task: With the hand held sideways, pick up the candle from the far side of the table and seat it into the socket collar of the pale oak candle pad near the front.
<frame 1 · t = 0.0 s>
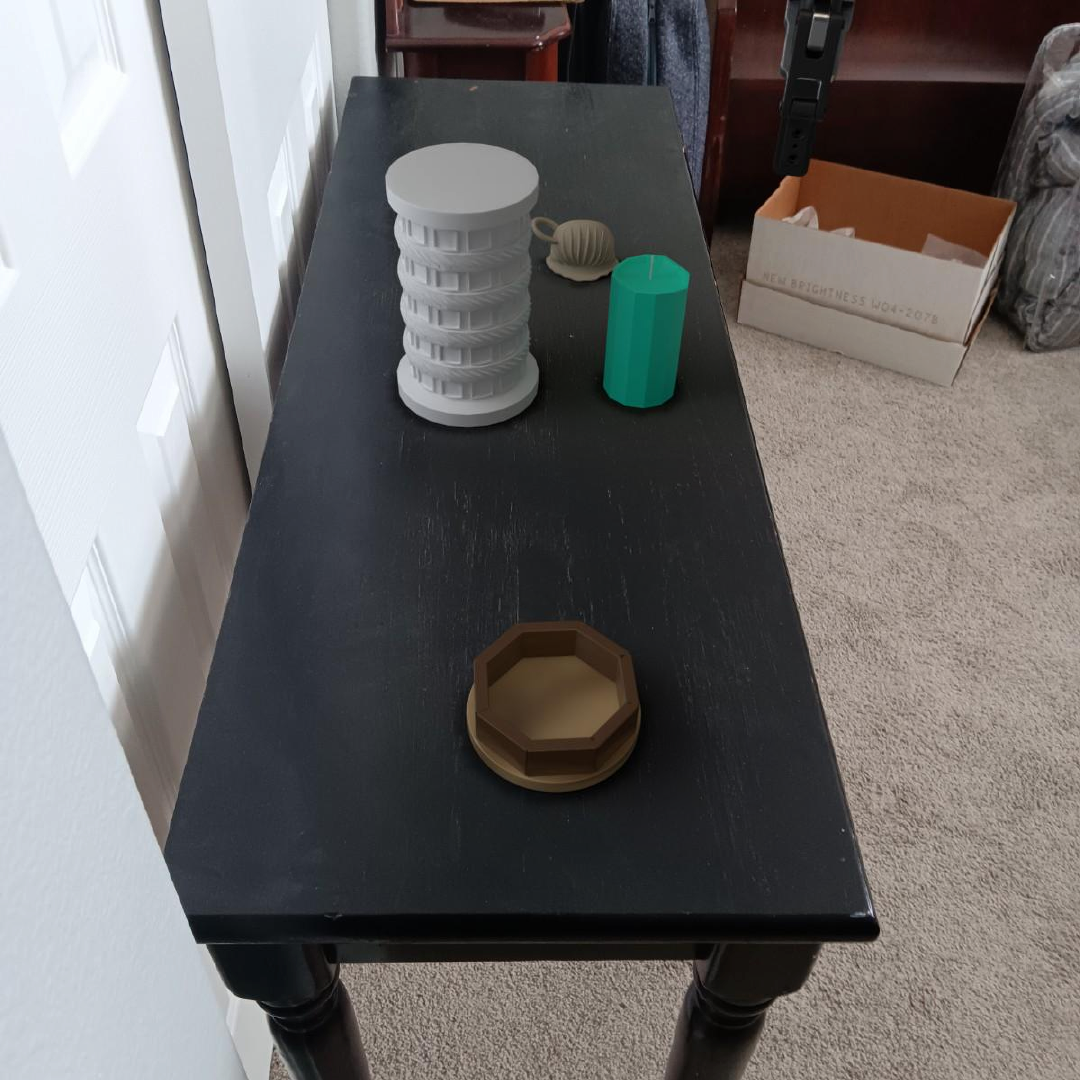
hand: (792, 145, 71), 22 cm above the table, tool pointing down, fingers open, 8 cm apart
decorative container: (468, 385, 89), on the table
candle: (638, 387, 89), on the table
candle pad: (553, 718, 65), on the table
decorative ornament: (575, 271, 102), on the table
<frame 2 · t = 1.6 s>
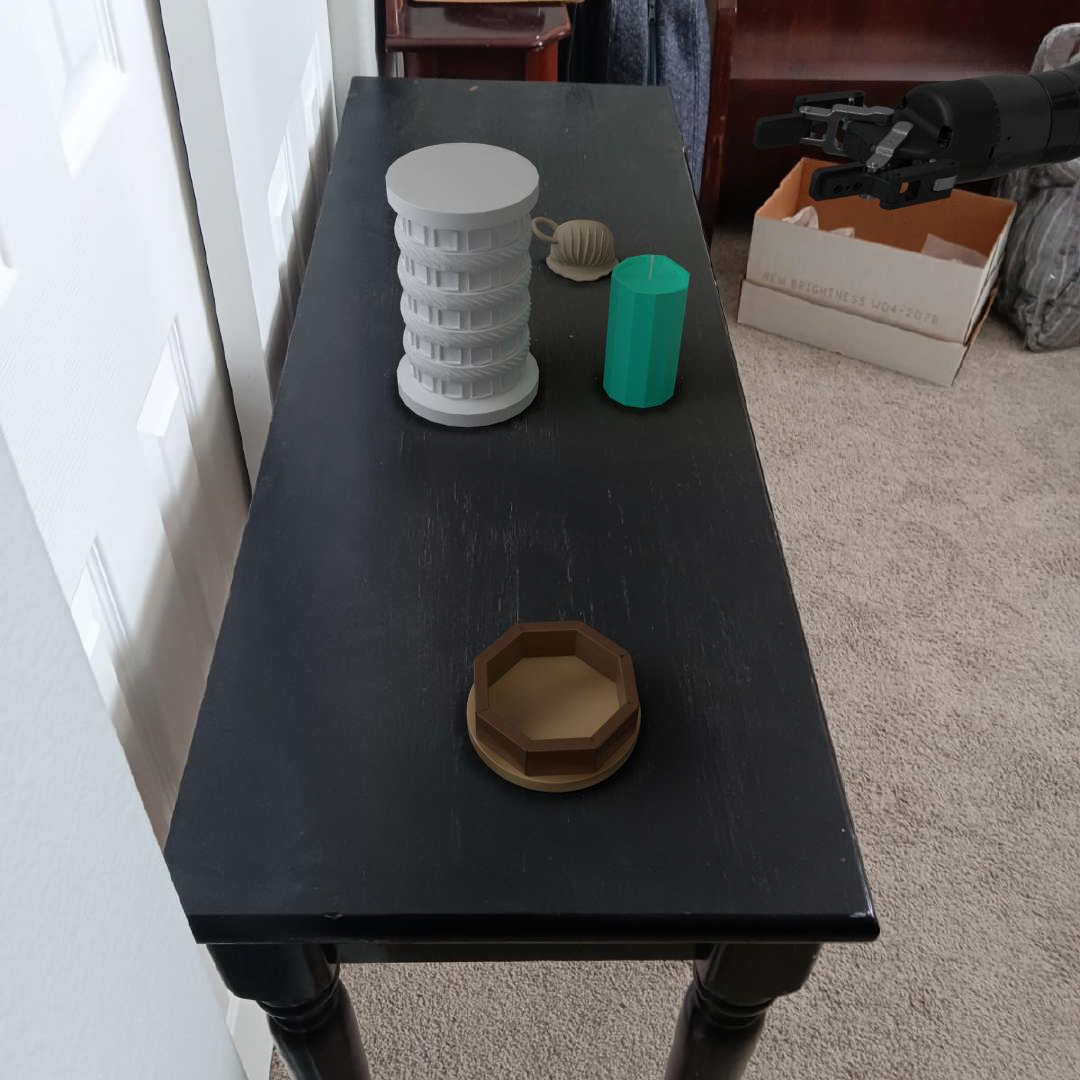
hand: (783, 159, 78), 18 cm above the table, tool horizontal, fingers open, 8 cm apart
nothing on the table moved.
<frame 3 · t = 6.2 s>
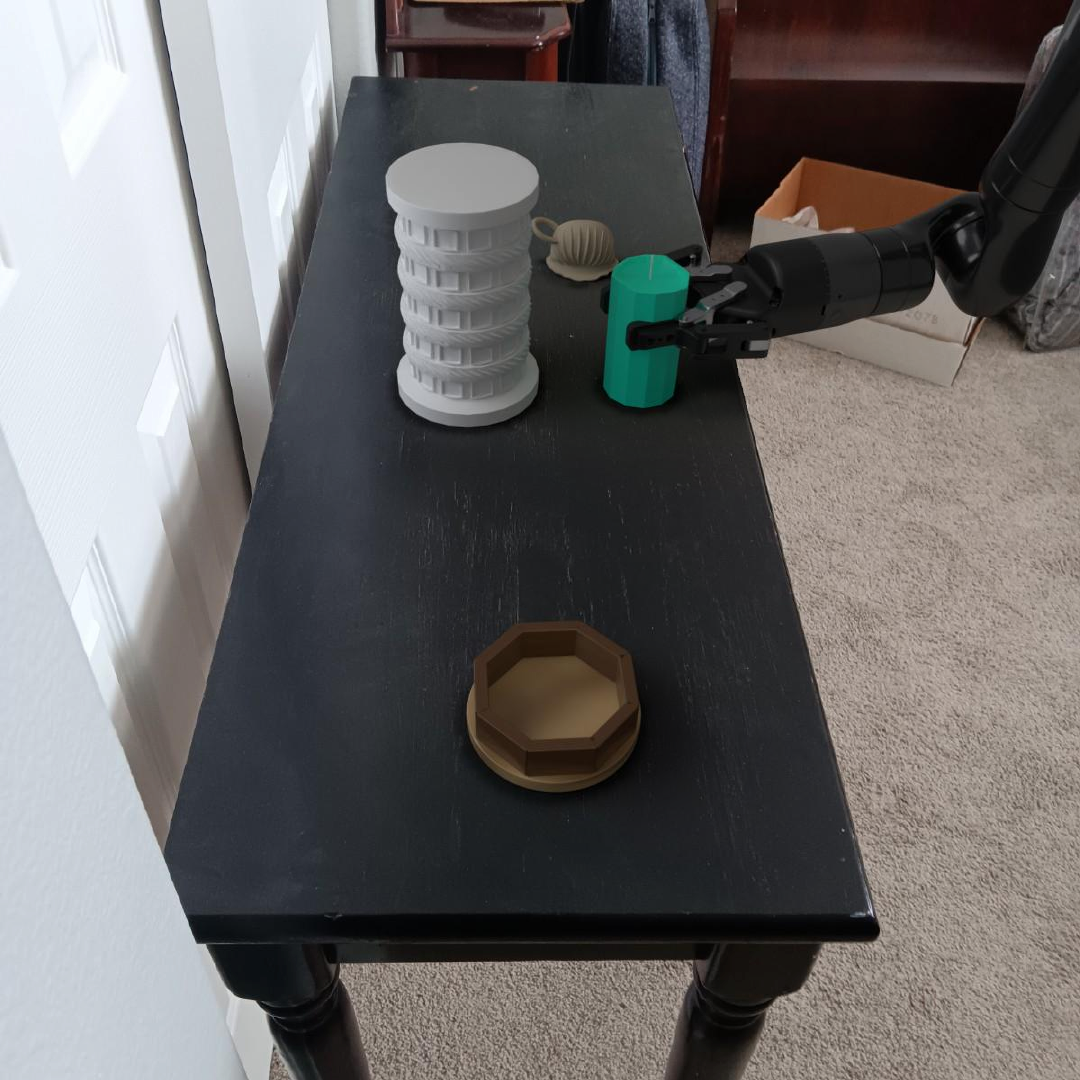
hand: (615, 318, 83), 7 cm above the table, tool horizontal, fingers closed on candle, 4 cm apart
candle: (638, 387, 89), on the table, touching gripper
everything else where it was.
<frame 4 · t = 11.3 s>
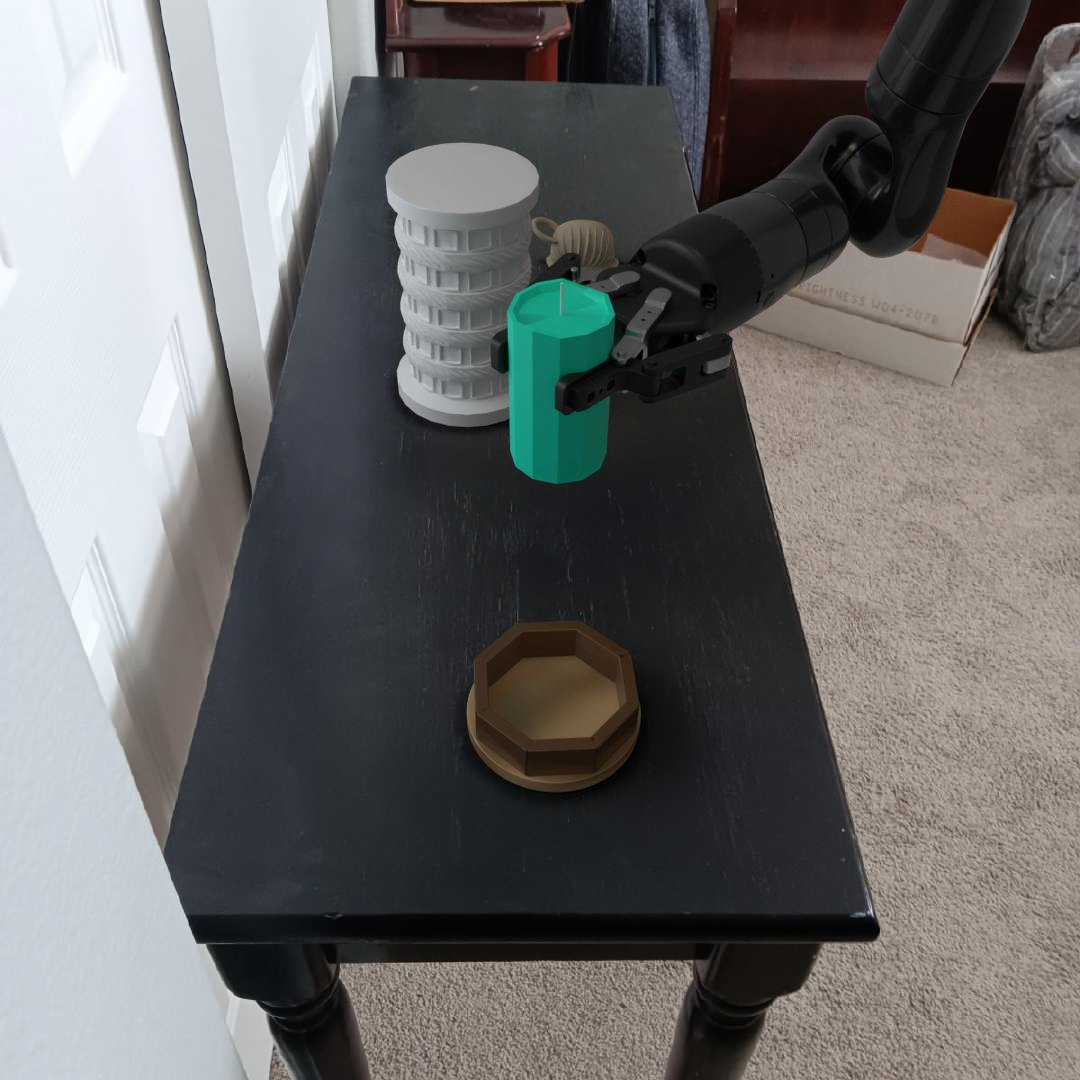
hand: (527, 378, 61), 17 cm above the table, tool horizontal, fingers closed on candle, 4 cm apart
candle: (558, 454, 67), point 10 cm above the table, touching gripper
everything else where it was.
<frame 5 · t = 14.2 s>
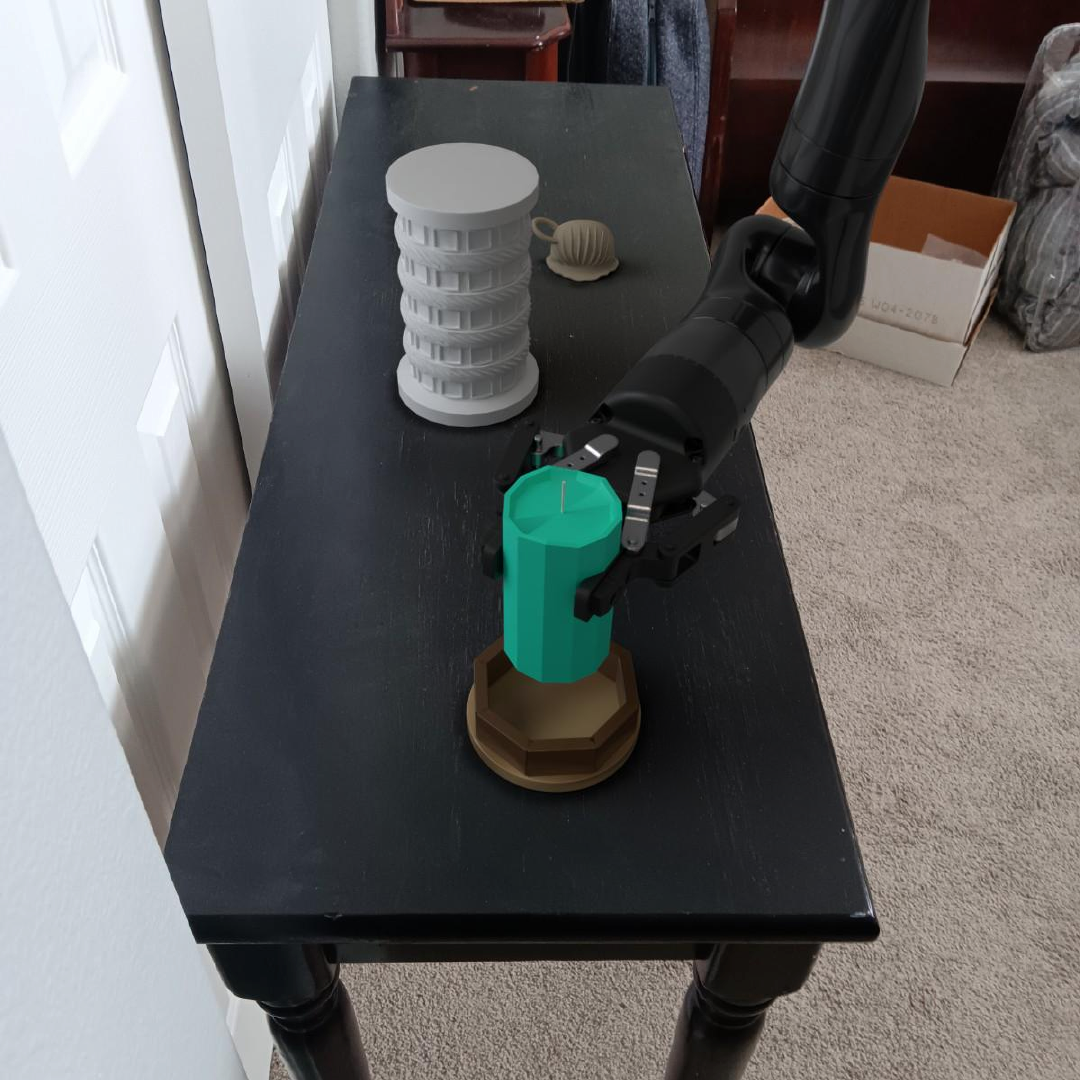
hand: (534, 586, 53), 14 cm above the table, tool horizontal, fingers closed on candle, 4 cm apart
candle: (556, 643, 60), point 7 cm above the table, touching gripper
everything else where it was.
when the fingers open (8 cm above the table, at t = 16.3 s): candle stays where it is, resting on candle pad.
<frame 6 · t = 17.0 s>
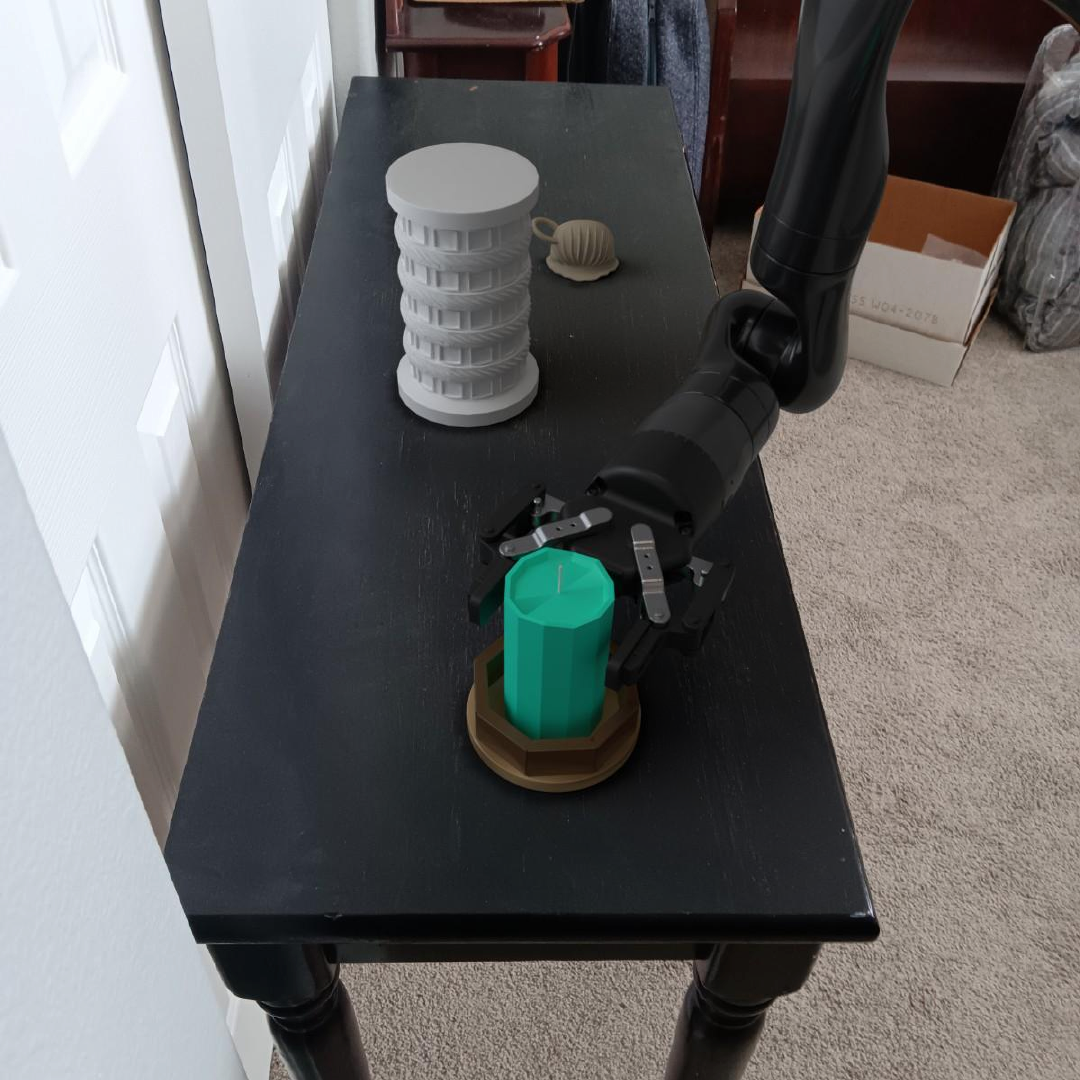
hand: (541, 646, 57), 9 cm above the table, tool horizontal, fingers open, 8 cm apart
candle: (553, 707, 64), point 1 cm above the table, touching candle pad
everything else where it was.
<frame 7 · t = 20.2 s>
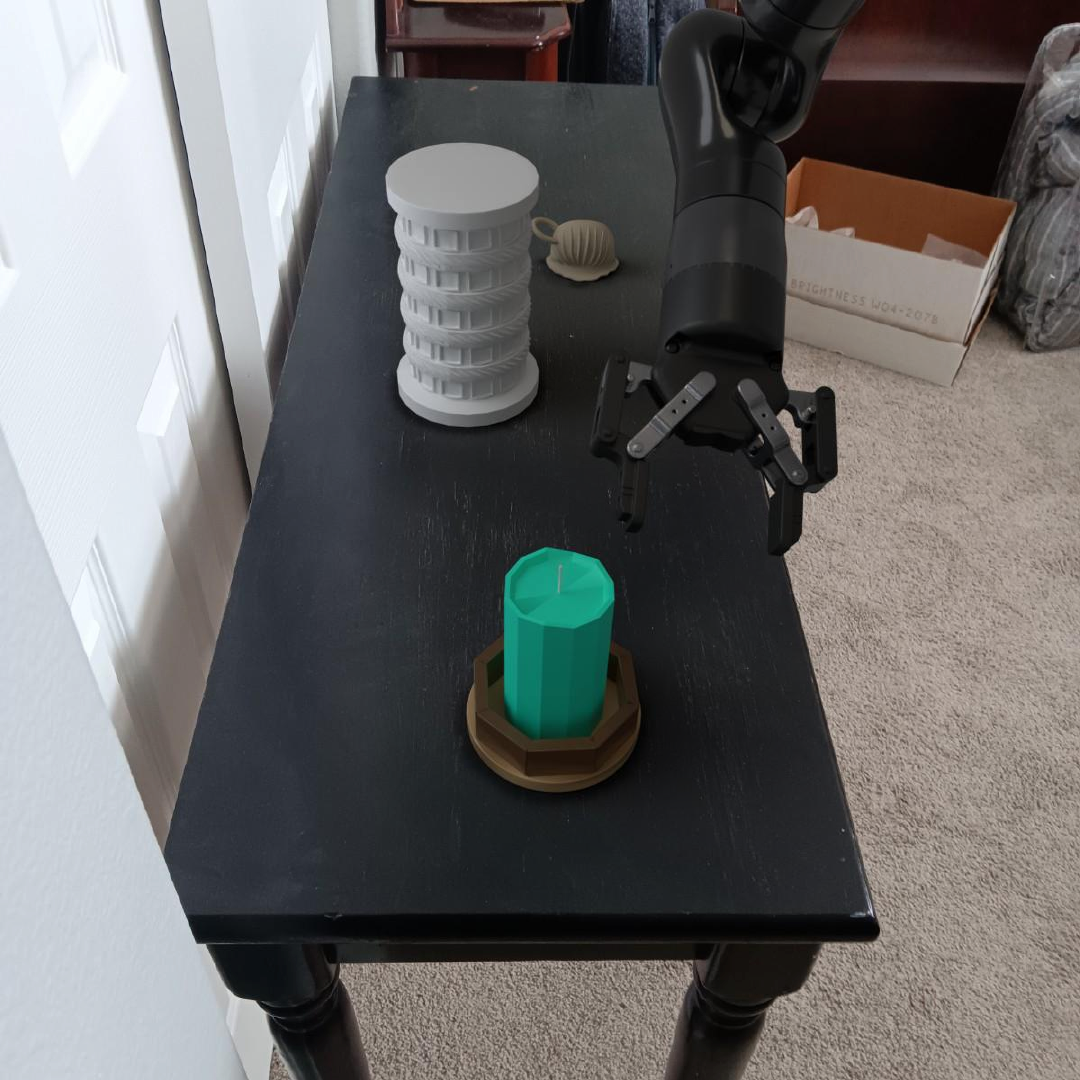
hand: (707, 540, 61), 11 cm above the table, tool tilted 65°, fingers open, 8 cm apart
nothing on the table moved.
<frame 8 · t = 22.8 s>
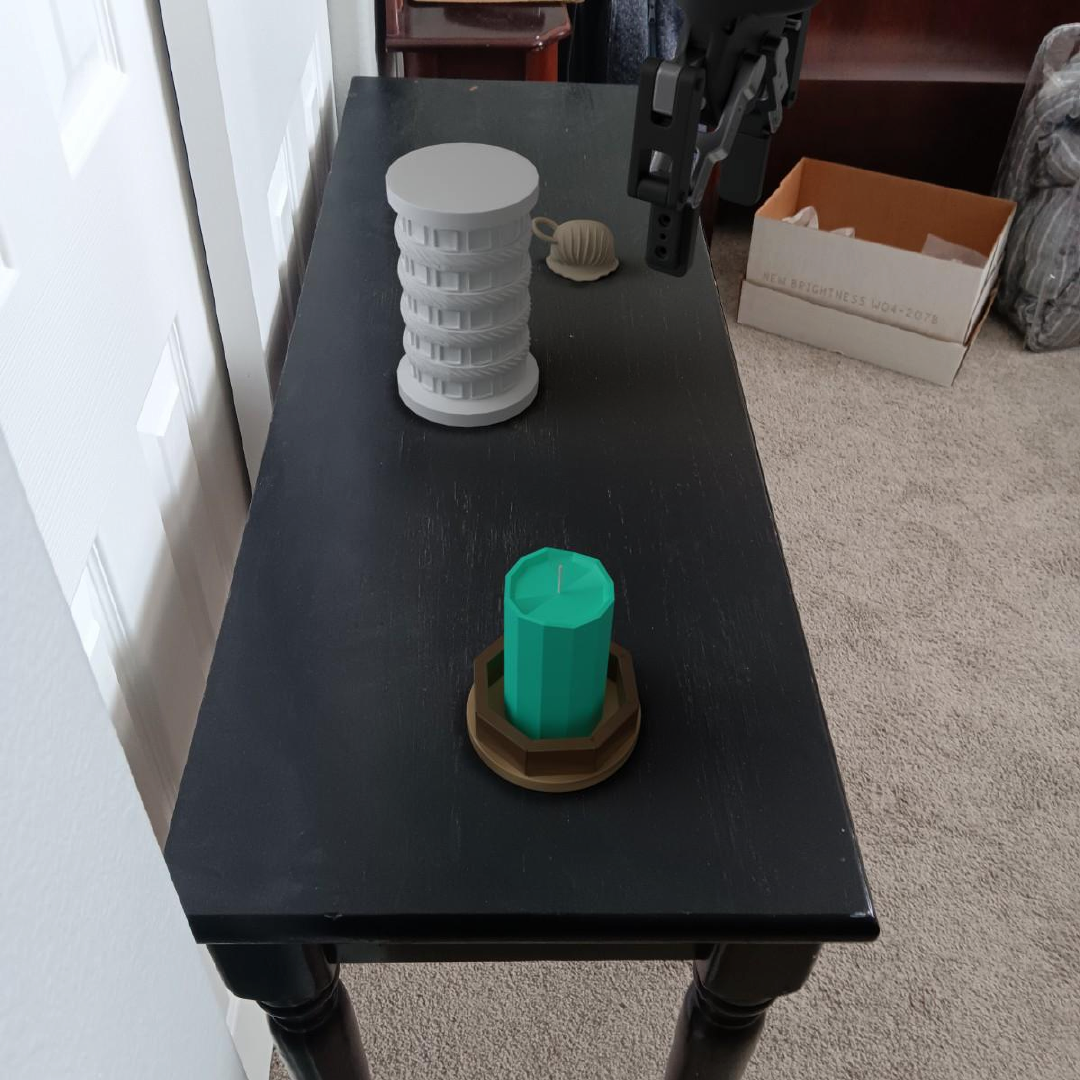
hand: (704, 233, 55), 26 cm above the table, tool pointing down, fingers open, 8 cm apart
nothing on the table moved.
at the end: candle 0.1 cm off-centre on the candle pad, point 0.8 cm above the candle pad's base; candle tilted 0°; the gripper is holding nothing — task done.
